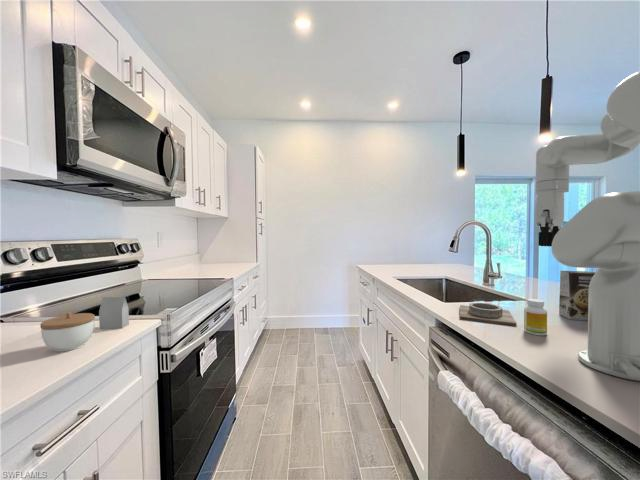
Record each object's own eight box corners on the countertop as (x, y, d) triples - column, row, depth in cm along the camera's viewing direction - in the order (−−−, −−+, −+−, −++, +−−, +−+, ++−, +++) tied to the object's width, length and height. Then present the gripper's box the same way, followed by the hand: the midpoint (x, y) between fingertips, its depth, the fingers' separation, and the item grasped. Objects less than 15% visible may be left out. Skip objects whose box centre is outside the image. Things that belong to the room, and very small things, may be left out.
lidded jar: (79, 353, 69) (78, 317, 69) (29, 358, 67) (27, 320, 67) (103, 337, 80) (102, 306, 79) (61, 341, 77) (60, 308, 77)
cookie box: (570, 319, 92) (570, 272, 92) (558, 314, 98) (559, 270, 98) (602, 321, 90) (603, 273, 90) (588, 315, 96) (589, 270, 96)
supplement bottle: (551, 336, 78) (551, 303, 77) (530, 335, 79) (530, 302, 78) (540, 329, 83) (540, 298, 83) (520, 328, 84) (520, 297, 84)
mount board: (516, 326, 86) (516, 315, 86) (460, 319, 94) (460, 309, 94) (508, 312, 100) (508, 303, 100) (460, 307, 108) (460, 299, 108)
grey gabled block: (122, 328, 88) (121, 297, 87) (99, 329, 87) (98, 298, 86) (128, 324, 91) (128, 295, 91) (107, 325, 90) (106, 296, 90)
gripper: (544, 191, 88) (543, 243, 89) (526, 187, 78) (525, 246, 78) (575, 188, 82) (574, 244, 83) (560, 183, 72) (559, 247, 72)
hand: (550, 245), depth 81 cm, fingers open, 9 cm apart
